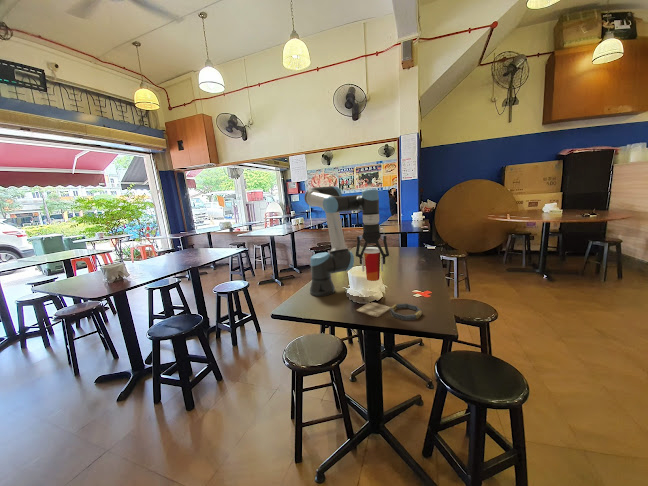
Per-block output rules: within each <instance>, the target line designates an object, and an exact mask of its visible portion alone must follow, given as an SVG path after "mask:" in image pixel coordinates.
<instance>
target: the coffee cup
mask: <svg viewBox="0 0 648 486" xmlns="http://www.w3.org/2000/svg"><path fill="white" fill-rule="evenodd" d="M363 257H364V268H365V274H366V281H370V282H376V281H379V280H380V276H381V274H380V273H381V253H380V250H379V249H378V247H377V246H369V247H366V248H365V251H364V253H363Z"/></svg>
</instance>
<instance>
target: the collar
mask: <svg viewBox="0 0 648 486" xmlns="http://www.w3.org/2000/svg"><path fill="white" fill-rule="evenodd" d="M389 307H390V309H389V312H390V314H391V316H392V317H393V318H395V319H398V320H402V321H413V320H417V319H419V318H420V317H422V310H421V309H420V307H418V305H415V304H410V303H406V302H404V303H395V304H393V305H392V306H389ZM397 309H400V310H401V309H408V310H412V311H415V313H414V314H401V313H398V312H396V310H397Z"/></svg>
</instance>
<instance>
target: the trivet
mask: <svg viewBox="0 0 648 486" xmlns="http://www.w3.org/2000/svg"><path fill="white" fill-rule="evenodd" d="M370 302H371V303H369V302H367V303H366V304H364V305H363V306H361V307H359V308H357V309H356V311H357V312H359V313H363V314H365V315H368V316H371V317H375V318H379V317H381V316H382V315H384V314H385V313H386V312H388V311H390V307H391V306H389V305H388V306H387V305H385V304H381V303H378V302H373V301H370Z"/></svg>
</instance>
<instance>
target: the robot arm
mask: <svg viewBox="0 0 648 486" xmlns="http://www.w3.org/2000/svg"><path fill="white" fill-rule="evenodd" d="M379 198H380V197H379V191H378V189H363V190H362V191H361V194H354V195H353V194H352V195H344V196H343V193H342V191H341V189H340V188H339V187H338V186H331V185H329V186H316V187H312V188H310V189H308V190H306V192H305V193H304V198H303V199H304V202H305V203H306V204H307V205H308V206H310V207H313V208H314V207H317V208H321V209H322V210H323V211H324V212H325V217H326V223H327V230H328V234H329V240H330V241H329V242H330V245H331V249H330V250H329V252H326V251H324V252H318V253H315V254H314V255H312V256H310V261H309V262H310V273H311V282H310V283H311V284H310V288H309V293H310V294H311V296H315V297H325V296H330V295H332V294H334V293H335V292H336V291H335V290H336V289H335V286H334V283H333V281H332V274H337V273H341V272H347V271H350V270H352V269H353V267H354V265H355V264H354V263H355V257H356V258H359V264H360V265H361V267H362V268H361V269H362V272H365V257H364V251H365V248H367V246H368V245H370V244H375V245H376V247H377V248H378V249H379V250H380V272H384V265H386V258H387V257H389V256H390V252H389V247H388V242H387V235H386V234H381V232H380V202H379V201H380V199H379ZM354 211H362V223H363V224H362V229H363V230H362V232H363V233H362V235H357V236H356V241H357V242H356V248H355V249H356V250H355V257H354V254H353V252H352V251H350V250H349V247H347V246H346V241H345V238H344V237H345V236H344V231H343V227H342V221H341V220H342V219H341V215H340V213H342V212H343V213H344V212H354ZM380 239H381V240H383V241H382V242H383V246H384V249H385V250H383V248H382V246H381V244H380V242H379V240H380ZM362 240H364V241H365V242H364V245H363V247H362V249H361V251H360V247H361V241H362Z"/></svg>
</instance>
